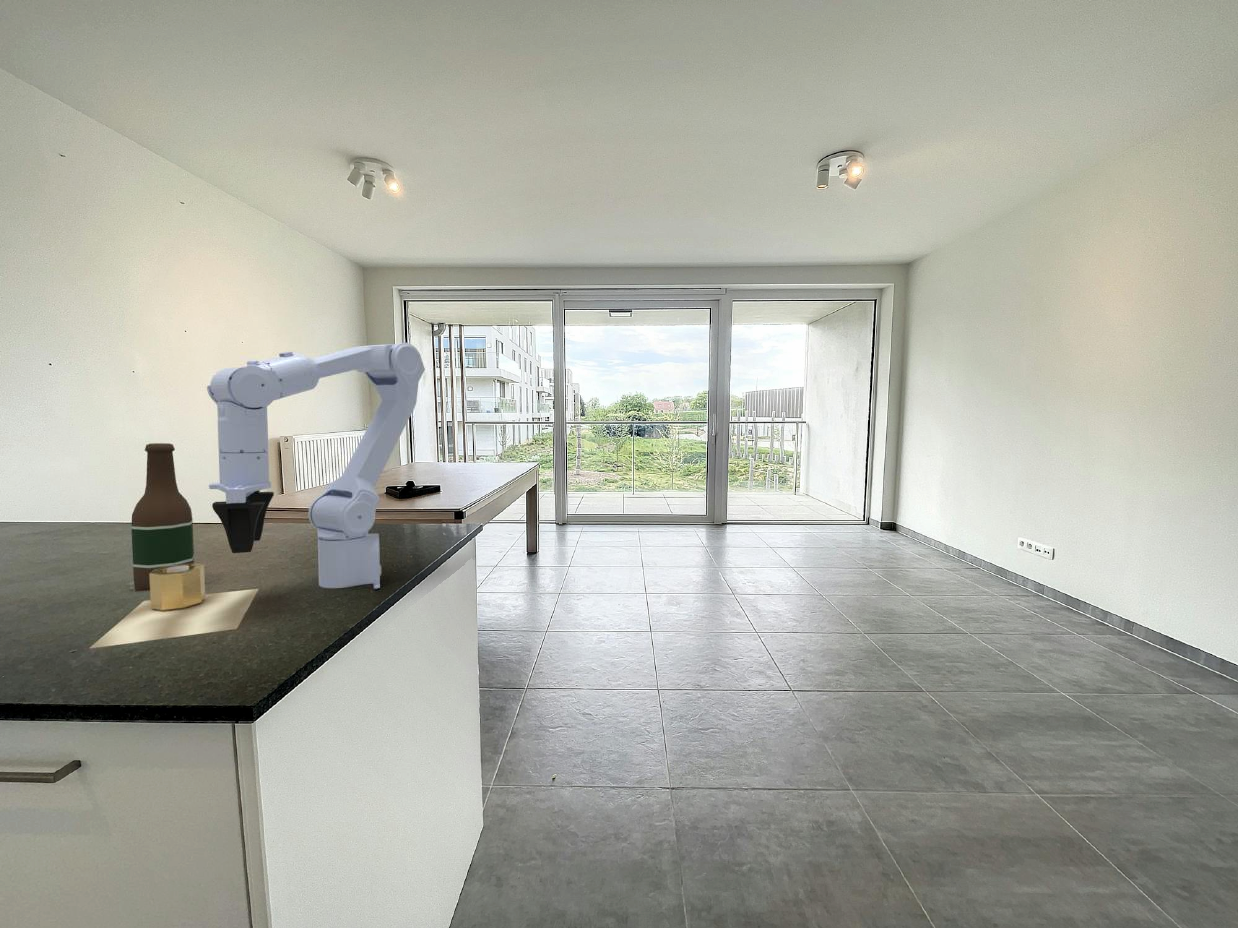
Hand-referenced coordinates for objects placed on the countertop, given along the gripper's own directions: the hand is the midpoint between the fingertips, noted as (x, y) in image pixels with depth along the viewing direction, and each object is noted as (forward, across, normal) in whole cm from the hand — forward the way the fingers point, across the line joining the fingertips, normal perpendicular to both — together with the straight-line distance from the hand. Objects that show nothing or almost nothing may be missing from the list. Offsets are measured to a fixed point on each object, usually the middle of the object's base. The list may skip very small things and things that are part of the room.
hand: (247, 546), depth 73 cm
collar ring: (+9, -5, -9) cm, 13 cm away
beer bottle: (+10, -19, -14) cm, 26 cm away
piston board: (+10, 0, -7) cm, 12 cm away
